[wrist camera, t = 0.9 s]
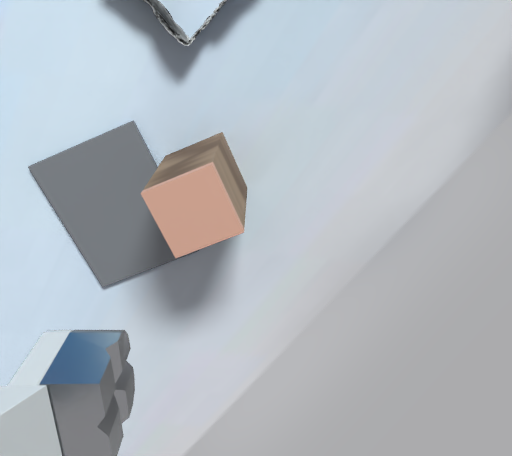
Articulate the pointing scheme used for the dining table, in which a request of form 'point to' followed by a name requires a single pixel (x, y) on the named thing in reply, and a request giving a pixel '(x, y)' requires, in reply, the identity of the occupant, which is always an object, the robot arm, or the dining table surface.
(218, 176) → the brown rectangular block
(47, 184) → the charcoal mat
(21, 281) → the dining table surface
